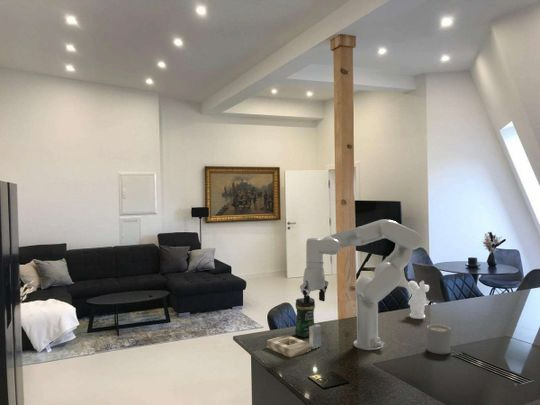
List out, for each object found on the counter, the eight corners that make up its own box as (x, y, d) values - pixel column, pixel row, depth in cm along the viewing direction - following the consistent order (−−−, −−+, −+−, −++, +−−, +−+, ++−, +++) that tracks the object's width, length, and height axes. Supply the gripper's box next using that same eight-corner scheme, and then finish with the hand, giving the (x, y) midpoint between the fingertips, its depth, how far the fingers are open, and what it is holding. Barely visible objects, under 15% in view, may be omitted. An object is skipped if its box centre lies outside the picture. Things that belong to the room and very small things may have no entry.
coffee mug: (440, 355, 184) (440, 332, 184) (422, 348, 193) (421, 326, 193) (460, 349, 191) (460, 327, 191) (441, 343, 199) (441, 322, 199)
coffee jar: (301, 338, 207) (300, 300, 207) (293, 334, 215) (292, 297, 214) (317, 335, 212) (317, 298, 212) (309, 331, 219) (309, 295, 219)
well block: (310, 351, 190) (310, 343, 190) (290, 357, 183) (290, 349, 183) (287, 341, 203) (286, 334, 203) (267, 347, 195) (267, 340, 195)
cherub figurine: (405, 315, 248) (404, 277, 248) (423, 313, 252) (422, 276, 252) (418, 320, 236) (417, 281, 236) (437, 318, 240) (436, 279, 240)
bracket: (321, 347, 196) (320, 325, 196) (313, 349, 193) (313, 327, 192) (312, 343, 200) (312, 322, 200) (304, 346, 197) (304, 324, 197)
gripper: (321, 262, 203) (321, 298, 203) (295, 265, 192) (294, 303, 192) (333, 264, 197) (333, 301, 197) (306, 268, 186) (306, 307, 187)
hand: (314, 302), depth 195 cm, fingers open, 9 cm apart
